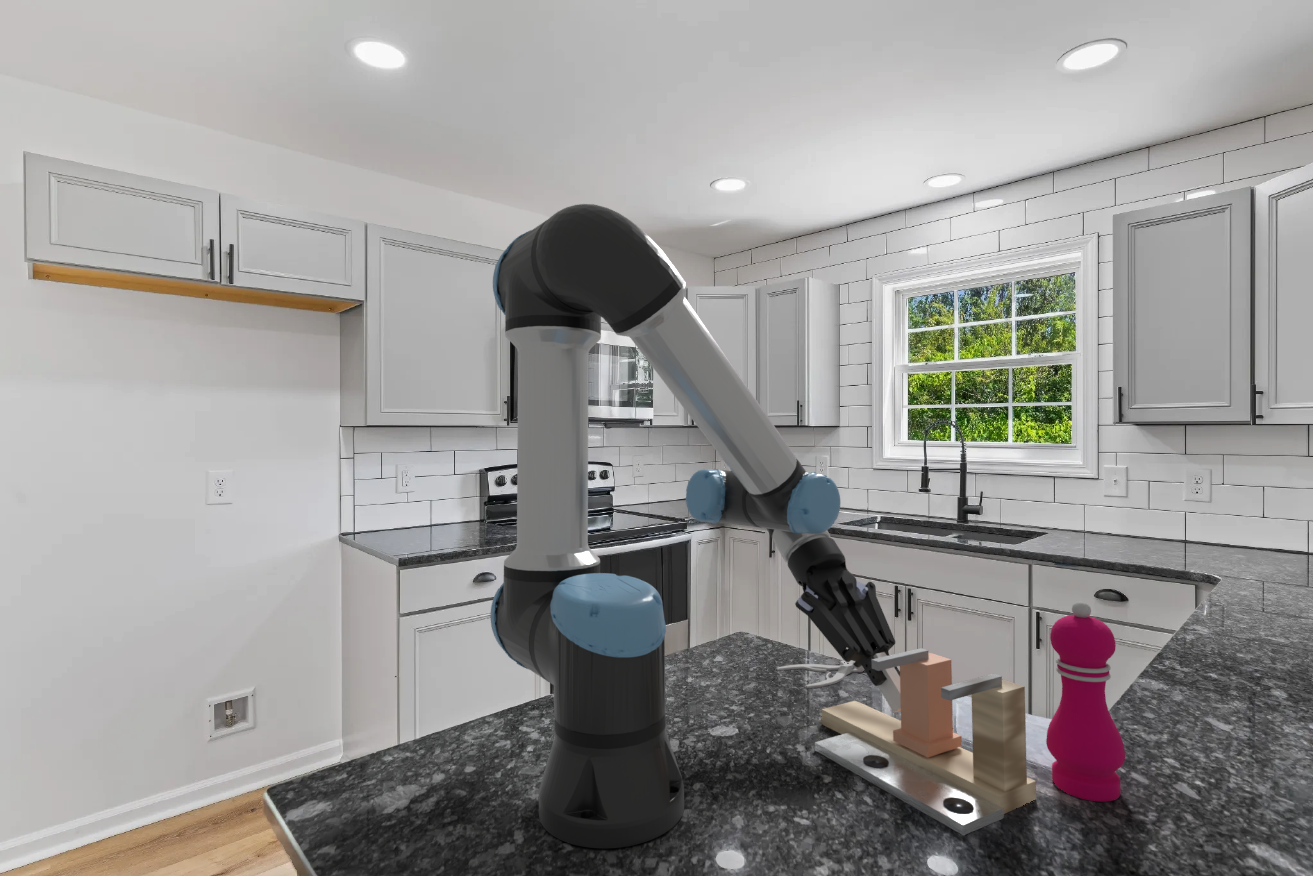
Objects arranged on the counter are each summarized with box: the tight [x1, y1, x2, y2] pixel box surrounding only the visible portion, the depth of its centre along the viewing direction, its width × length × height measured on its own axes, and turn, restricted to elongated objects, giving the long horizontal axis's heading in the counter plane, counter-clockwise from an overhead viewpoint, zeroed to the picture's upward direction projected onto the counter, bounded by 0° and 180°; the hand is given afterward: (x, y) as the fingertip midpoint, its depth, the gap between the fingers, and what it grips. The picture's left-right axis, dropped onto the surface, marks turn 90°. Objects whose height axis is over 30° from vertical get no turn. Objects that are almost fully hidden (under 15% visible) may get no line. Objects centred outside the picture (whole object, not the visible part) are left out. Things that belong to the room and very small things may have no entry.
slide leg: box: [872, 647, 963, 757], centre depth 79 cm, size 11×5×11 cm, turn 118°
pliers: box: [776, 659, 865, 689], centre depth 112 cm, size 10×2×15 cm
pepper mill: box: [1045, 601, 1126, 803], centre depth 74 cm, size 7×7×20 cm
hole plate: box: [814, 732, 1005, 836], centre depth 76 cm, size 6×21×1 cm, turn 28°
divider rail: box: [821, 673, 1037, 815], centre depth 80 cm, size 11×26×13 cm, turn 28°
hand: (903, 706), depth 83 cm, fingers closed
